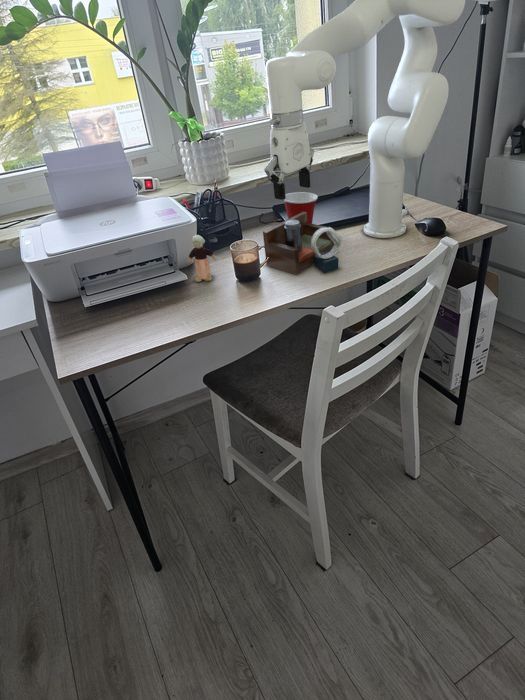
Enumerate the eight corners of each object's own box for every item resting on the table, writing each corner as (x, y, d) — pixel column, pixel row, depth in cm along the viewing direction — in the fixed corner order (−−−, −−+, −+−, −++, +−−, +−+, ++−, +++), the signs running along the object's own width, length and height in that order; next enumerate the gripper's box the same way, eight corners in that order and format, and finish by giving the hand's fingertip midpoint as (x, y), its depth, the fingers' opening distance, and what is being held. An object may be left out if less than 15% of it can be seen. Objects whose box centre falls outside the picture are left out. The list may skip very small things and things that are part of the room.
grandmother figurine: (192, 284, 125) (182, 240, 118) (191, 278, 128) (182, 234, 121) (220, 279, 126) (212, 235, 118) (218, 273, 129) (211, 230, 122)
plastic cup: (326, 234, 144) (325, 195, 137) (295, 243, 140) (293, 204, 133) (307, 224, 152) (306, 187, 145) (279, 232, 148) (275, 195, 141)
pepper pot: (305, 249, 126) (304, 220, 122) (295, 255, 124) (293, 226, 119) (293, 245, 129) (291, 218, 124) (283, 251, 127) (280, 223, 122)
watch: (344, 267, 124) (344, 227, 118) (318, 275, 122) (316, 235, 115) (334, 259, 128) (333, 221, 122) (308, 267, 126) (306, 228, 120)
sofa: (304, 244, 139) (303, 211, 133) (334, 251, 132) (334, 217, 127) (266, 265, 130) (262, 231, 124) (296, 275, 123) (293, 239, 117)
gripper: (273, 129, 101) (281, 206, 111) (322, 111, 110) (325, 184, 120) (249, 127, 105) (259, 201, 115) (298, 110, 114) (303, 181, 124)
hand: (292, 192), depth 118 cm, fingers open, 9 cm apart
